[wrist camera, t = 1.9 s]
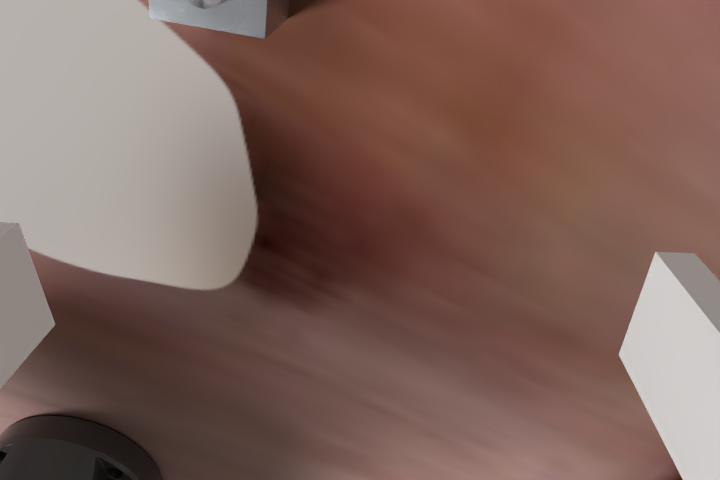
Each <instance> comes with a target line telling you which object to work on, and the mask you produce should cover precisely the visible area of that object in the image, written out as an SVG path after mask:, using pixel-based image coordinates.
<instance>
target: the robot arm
mask: <svg viewBox="0 0 720 480" xmlns="http://www.w3.org/2000/svg"><path fill="white" fill-rule="evenodd" d="M54 326H55V322H54V319H53V317H52V314H51V311H50V308H49V306H48V303H47V300H46V297H45V294H44V292H43V289H42V286H41V283H40V281H39V278H38V275H37V272H36V270H35V267H34V264H33V261H32V259H31V256H30V253H29V250H28V247H27V245H26V242H25V239H24V236H23V234H22V231H21V228H20V226H19V223H3V222H2V223H1V222H0V389H1V388H2V386H3V385H4V384H5V383H6V382H7V381H8V379H9V378H10V377H11V376H12V375H13V374H14V372H15V371H16V370H17V369H18V368H19V367H20V365H21V364H22V363H23V362H24V361H25V360H26V358H27V357H28V356H29V355H30V354H31V353H32V351H33V350H34V349H35V348H36V347H37V346H38V344H39V343H40V342H41V341H42V340H43V339H44V337H45V336H46V335H47V334H48V333H49V332H50V330H51V329H52V328H53V327H54ZM619 356H620V358H621V360H622V362H623V364H624V366H625V368H626V370H627V372H628V374H629V376H630V378H631V380H632V382H633V384H634V386H635V388H636V390H637V391H638V393H639V395H640V397H641V399H642V401H643V403H644V405H645V407H646V409H647V411H648V413H649V415H650V417H651V419H652V421H653V423H654V424H655V426H656V428H657V430H658V432H659V434H660V436H661V438H662V440H663V442H664V444H665V446H666V448H667V450H668V452H669V454H670V456H671V458H672V459H673V461H674V463H675V465H676V467H677V469H678V471H679V473H680V475H681V477H682V479H683V480H720V281H719V280H718V279H717V277H716V276H715V275H714V274H713V273H712V272H711V271H710V270H709V269H708V268H707V266H706V265H705V264H704V263H703V262H702V261H701V260H700V259H699V258H698V256H697V255H696V254H695V253H673V252H655V255H654V257H653V260H652V263H651V266H650V268H649V271H648V274H647V277H646V280H645V282H644V285H643V288H642V291H641V294H640V296H639V299H638V302H637V305H636V308H635V310H634V313H633V316H632V319H631V321H630V324H629V327H628V330H627V333H626V335H625V338H624V341H623V344H622V347H621V349H620V352H619ZM0 480H161V476H160V473H159V471H158V469H157V467H156V465H155V464H154V462H153V461H152V460H151V459H150V457H149V456H148V455H147V454H146V453H145V452H144V451H143V450H142V449H141V448H140V447H138V446H137V445H136V444H135V443H133V442H132V441H130V440H129V439H127V438H126V437H124V436H122V435H121V434H119V433H117V432H115V431H113V430H111V429H109V428H106V427H104V426H101V425H99V424H96V423H93V422H89V421H86V420H81V419H77V418H71V417H64V416H39V417H32V418H28V419H24V420H21V421H19V422H17V423H14V424H13V425H11V426H9V427H8V428H7V429H6V430H5V431H4V432H3V433H2V434H1V435H0Z"/></svg>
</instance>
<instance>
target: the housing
mask: <svg viewBox="0 0 720 480" xmlns="http://www.w3.org/2000/svg"><path fill="white" fill-rule="evenodd" d="M289 1H290V0H149V17H150V18H151V19H157V20H163V21H168V22H174V23H180V24H185V25H191V26H196V27H202V28H208V29H213V30H219V31H225V32H230V33H236V34H242V35H247V36H253V37H259V38H264V39H265V38H266V37H267V36H268V35H270V34H271V33H272V32H273V31H274V30H275V29H276V28H278V27H279V26H280V25H281V24H282V23H283V22H285V21H286V20H287V19H288V13H289Z"/></svg>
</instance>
